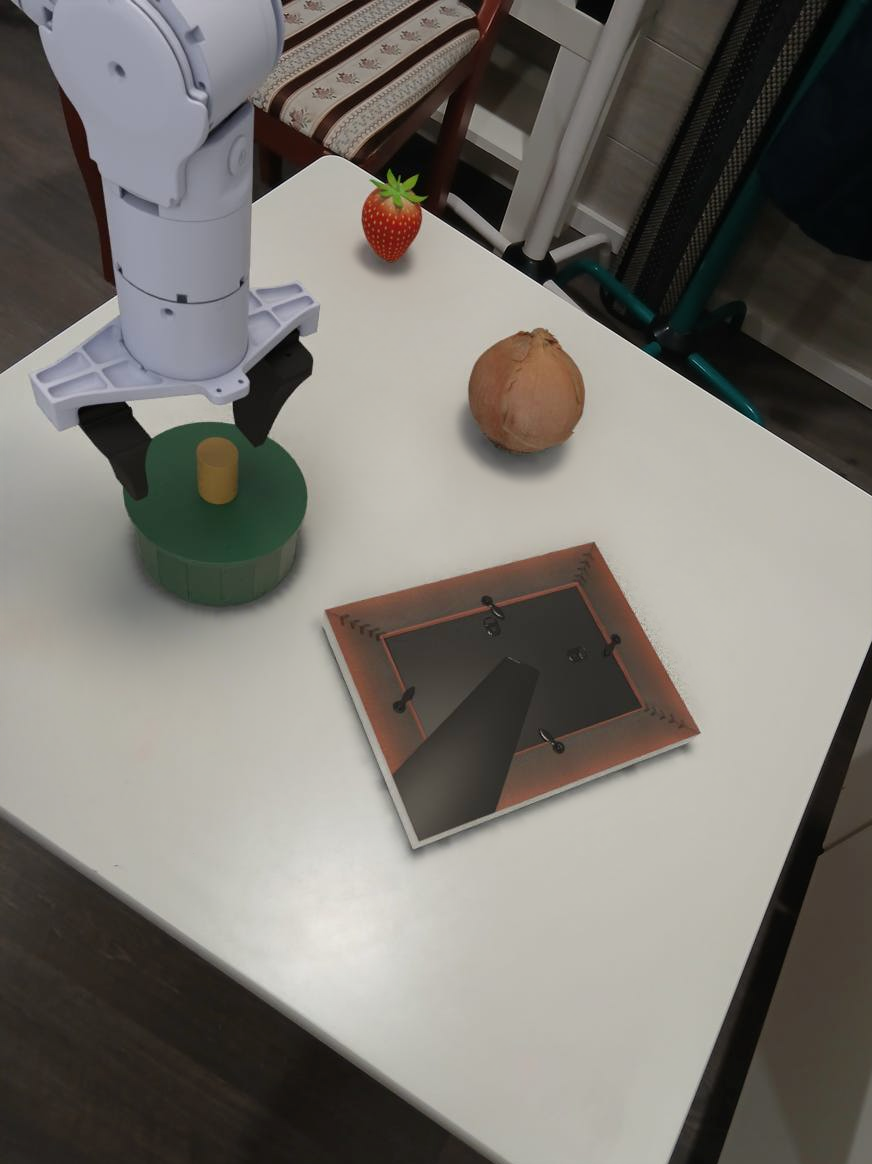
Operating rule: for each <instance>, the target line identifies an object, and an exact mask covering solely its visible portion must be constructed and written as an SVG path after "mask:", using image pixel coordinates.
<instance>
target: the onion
mask: <svg viewBox="0 0 872 1164" xmlns="http://www.w3.org/2000/svg"><path fill="white" fill-rule="evenodd" d="M556 337H557V335H554V334H552V333H551V332H549V329H548V328H545V327H537V328H534V329H533V330H532V331H531V332H529V331H525V330H519V331H518V332H516V333H514V334H512V335H510V336H507V337H506V338H503V339H501V340H499V341H497V342H496V343H493V345H490V347H488V348H487V349H486V350H485V351H484V352H483V353H481V355H480V356H479V357H478V358H477V360H476V361H475V362H474V365H473V367H472V369H471V373H470V376H469V380H468V386H467V387H468V388H467V396H468V397H467V398H468V406H469V409H470V412H471V416H472V417H473V419H474V421H475V422H476V424H477V426H478V427H479V429H480V430H481V432H483V433H482V434H483V435H485V436H486V437H487V439H488V440H489V441H490V442H491V443H493V444H492V445H494V447H495V448H497V449H499V450H502V451H504V452H507V453H509V454H515V455H519V456H522V454H524V453H536V452H542V451H544V450H548V449H549V448H552V447H553V446H556V445H558V444H560V445H562V444H563V443H565V442H566V441H568V440H569V439H570V438H571V437H572V435H574V433H575V431H573V430H574V429H576V427H577V425H578V424H579V422H580V420H581V418H582V416H583V413H584V408H585V401H586V400H585V399H586V388H585V381H584V378H583V375H582V372H581V370H580V368H579V366H578V365H577V363H576V362H575V361H574V359H573V358H572V357H571V356H570V354H569V353H568V352H567V351H565V350H564V349H563V346H562V345H560V341H559V340H558V339H557V338H556Z"/></svg>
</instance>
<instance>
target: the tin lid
mask: <svg viewBox="0 0 872 1164" xmlns="http://www.w3.org/2000/svg"><path fill="white" fill-rule="evenodd" d="M151 438H152V439H153V440H152V441H151V443H150V445H149V447H148V451H147V455H146V463H145V469H146V476H147V482H148V495H147V497H145V498H143V499H141V500H139V501H135V500H133V498H132V497H131V496H130V495H129V493H128V492H127V491H126V490H125V488H124V487H123V486H122V497H123V503H124V508H125V510H126V513H127V514H126V515H127V517H128V518H129V520H130V523H131V525H132V526H133V527H135V528H136V530H137V531H138V532H139V534H140V535H141V536H142V537H143V538H144V539H145V540H146V541H147V542H148V543H150V544H151V545H152V546H153V547H155V548H156V549H157V550H159V551H161V552H162V553H164V554H166V555H168V556H170V557H172V558H174V559H176V560H179V561H182V562H185V563H188V564H192V565H197V566H201V567H211V568H230V567H239V566H244V565H248V564H252V563H255V562H258V561H261V560H263V559H265V558H267V557H269V556H271V555H273V554H275V553H276V552H278V551H279V550H281V549H282V548H283V547H284V546H286V545H287V544H288V543H289V542H290V541H291V540H292V538H293V537H294V536H295V535H296V534H297V532H298V533H299V530H300V529H301V528H302V525H303V523H304V520H305V517H306V514H307V510H308V509H307V508H308V497H309V496H308V487H307V483H306V479H305V477H304V474H303V472H302V469H301V468H300V466H299V464H298V463H297V462H296V460H295V459H294V458H293V456H292V455H291V454H290V453H289V451H287V450H286V449H285V448H284V447H283V446H282V445H280V444H279V443H278V442H277V441H275V440H274V439H272V438H271V437H268V436H267V438H266V440H265V442H264V444H263V445H261V446H258V447H256V448H255V447H254V446H253V445H252V444H251V443H250V442H249V440H248V439H247V438H246V437H245V436H244V435H243V434H242V432H241V431H240V430H239V429H238V428H237V427H236V425H235V423H230V422H224V421H223V422H222V421H197V422H191V423H185V424H181V425H178V426H174V427H172V428H169V429H166V430H164V431H161V432H160V433H158V434H157V435H155V436H153V437H151ZM297 535H298V534H297Z"/></svg>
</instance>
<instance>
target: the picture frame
mask: <svg viewBox="0 0 872 1164" xmlns="http://www.w3.org/2000/svg"><path fill="white" fill-rule="evenodd" d="M603 556H604V555H602V552H601V551H600V549H599V547H598V546H597V544H596V542H595V541H592V542H587V543H583V544H579V545H576V546H572V547H569V548H568V547H567V548H565V549H560V550H555V551H552V552H547V553H544V554H541V555H537V556H536V555H535V556H531V557H528V558H524V559H521V560H517V561H513V562H509V563H504V564H501V565H495V566H493V567H489V568H485V569H481V570H476V571H473V572H469V573H465V574H461V575H456V576H453V577H450V578H445V579H441V580H437V581H434V582H430V583H425V584H422V585H418V586H414V587H410V588H407V589H406V588H405V589H402V590H401V589H400V590H398V591H393V592H391V593H390V592H389V593H386V594H382V595H377V596H374V597H370V598H366V599H363V600H358V601H354V602H350V603H346V604H342V605H339V606H335V607H330V608H327V609H324V612H323V616H322V620H321V624H322V627H323V629H324V632H325V634H326V637H327V639H328V642H329V645H330V647H331V650H332V652H333V655H334V658H335V659H336V662H337V664H338V667H339V669H340V672H341V674H342V677H343V679H344V682H345V684H346V686H347V689H348V691H349V694H350V696H351V699H352V702H353V704H354V706H355V710H356V711H357V714H358V717H359V719H360V721H361V724H362V726H363V729H364V731H365V735H366V737H367V739H368V741H369V744H370V746H371V749H372V751H373V754H374V756H375V759H376V761H377V763H378V764H377V765H378V766H379V768H380V771H381V773H382V777H383V779H384V781H385V785H386V786H387V788H388V791H389V794H390V796H391V798H392V801H393V804H394V806H395V809H396V811H397V814H398V816H399V818H400V821H401V823H402V826H403V828H404V831H405V833H406V835H407V838H408V841H409V843H410V846H411V848H412V850H416V849H419V848H421V847H423V846H426V845H429V844H431V843H433V842H437V841H439V840H441V839H444V838H447V837H450V836H451V835H454V834H457V833H459V832H462V831H465V830H468V829H470V828H471V827H472V828H473V827H475V826H477V825H480V824H482V823H483V824H484V823H485V822H489V821H490V820H493V819H496V818H498V817H501V816H503V815H505V814H509V813H512V812H513V811H517V810H518V809H521V808H524V807H526V806H530V805H532V804H534V803H537V802H539V801H542V800H545V799H547V798H550V797H552V796H555V795H557V794H560V793H563V792H565V791H567V790H570V789H573V788H576V787H578V786H580V785H584V784H586V783H589V782H591V781H593V780H596V779H598V778H601V777H604V776H607V775H609V774H611V773H614V772H616V771H620V770H621V769H625V768H627V767H630V766H632V765H635V764H638V763H640V762H642V761H644V760H647V759H650V758H652V757H655V756H658V755H660V754H663V753H665V752H669V751H670V750H673V749H676V748H678V747H682V746H683V745H686V744H688V743H690V742H692V741H693V740H694V739H695V738H697V737H698V736H699V735H700V734H701V731H700V729H699V727H698V725H697V723H696V721H695V720H694V717H693V715H692V714H691V713H690V711H689V708H688V707H687V706H686V704H685V701H684V700H683V698H682V697H681V695H680V693H679V690H678V689H677V687H676V686H675V684H674V683H673V680H672V678H671V676H670V675H669V673H668V671H667V669H666V668H665V666H664V664H663V662H662V660H661V659H660V657H659V655H658V653H657V651H656V650H655V647H654V646H653V644H652V642H651V641H650V639H649V637H648V636H647V633H646V632H645V630H644V628H643V626H642V625H641V623H640V620H639V619H638V618H637V616H636V613H635V612H634V610H633V608H632V607H631V605H630V603H629V601H628V599H627V598H626V596H625V593H624V592H623V590H622V588H621V587H620V585H619V584H618V581H617V579H616V578H615V576H614V574H613V573H612V570H611V569H610V567H609V565H608V564H607V562H606V560H605V558H604V557H603Z"/></svg>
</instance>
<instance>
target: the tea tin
mask: <svg viewBox="0 0 872 1164" xmlns="http://www.w3.org/2000/svg"><path fill="white" fill-rule="evenodd" d="M133 527H134V526H133ZM298 534H299V531H298V532H297V534H296V535H295V536H294V537H293V538H292V540H291V541H290V542H289V543H288V544H287V545H286V546H284V547H283V548H282V549H281V550H279V551H278V552H276V553H275V554H273V555H271V556H269V557H267V558H265V559H263V560H261V561H258V562H255V563H252V564H248V565H244V566H239V567H230V568H211V567H201V566H197V565H192V564H188V563H185V562H182V561H179V560H176V559H174V558H172V557H170V556H168V555H166V554H164V553H162V552H161V551H159V550H157V549H156V548H155V547H153V546H152V545H151V544H150V543H148V542H147V541H146V540H145V539H144V538H143V537H142V536H141V535H140V534H139V532H138V531H137V530H136V528H135V527H134V535H135V540H136V543H137V548H138V553H139V557H140V560H141V564H142V565H143V566H144V568H145V570H146V572H147V574H149V576H150V577H151V579H152V580H154V582H155V583H157V585H158V586H160V587H161V588H162V589H164V590H165V591H166V592H167V593H170V594H171V595H173V596H175V597H176V598H179V599H181V600H183V601H185V602H189V603H192V604H196V605H200V606H208V607H216V608H217V607H219V608H220V607H233V606H239V605H243V604H247V603H251V602H252V601H256V600H257V599H260V598H261V597H264V596H265V595H267V594H268V593H270V592H271V591H273V589H275V588H276V587H277V586H278V585H279V584H281V582H283V580H284V579H285V578H286V576H287V575H288V573H289V572H290V569H291V568H292V565H293V563H294V560H295V554H296V546H297V540H298Z"/></svg>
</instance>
